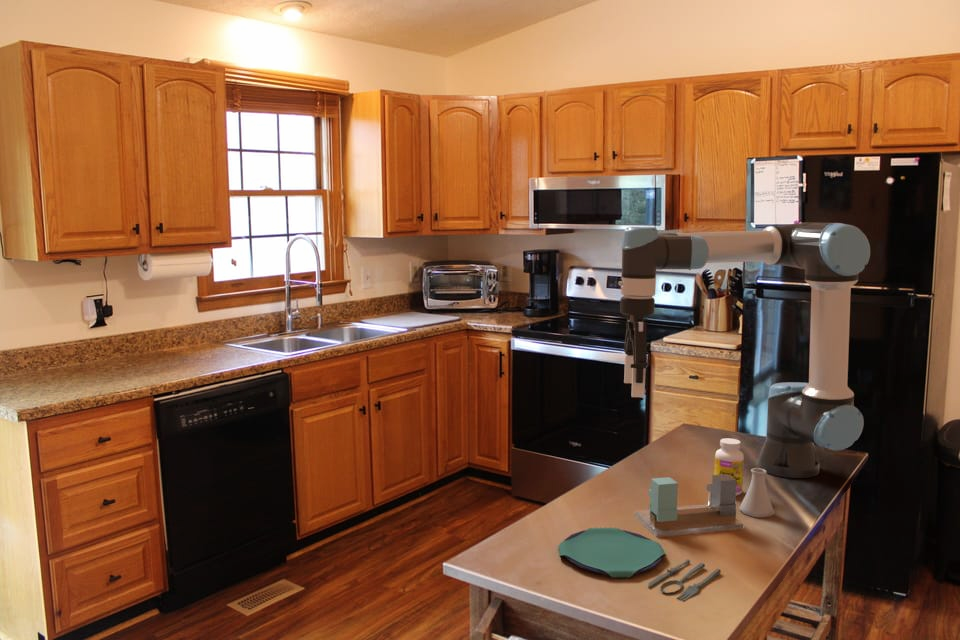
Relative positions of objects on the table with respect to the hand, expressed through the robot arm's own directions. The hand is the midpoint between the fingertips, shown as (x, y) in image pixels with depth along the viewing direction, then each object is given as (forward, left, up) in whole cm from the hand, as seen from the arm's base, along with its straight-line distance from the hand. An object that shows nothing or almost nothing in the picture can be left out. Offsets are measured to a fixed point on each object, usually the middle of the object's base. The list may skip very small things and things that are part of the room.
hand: (633, 389), depth 183 cm
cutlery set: (+11, +28, -28) cm, 41 cm away
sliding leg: (-2, +12, -26) cm, 29 cm away
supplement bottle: (-27, -4, -28) cm, 39 cm away
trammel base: (-9, +11, -28) cm, 31 cm away
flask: (-27, +9, -28) cm, 40 cm away
